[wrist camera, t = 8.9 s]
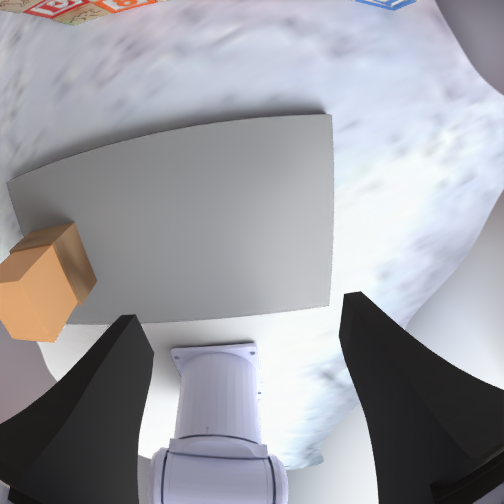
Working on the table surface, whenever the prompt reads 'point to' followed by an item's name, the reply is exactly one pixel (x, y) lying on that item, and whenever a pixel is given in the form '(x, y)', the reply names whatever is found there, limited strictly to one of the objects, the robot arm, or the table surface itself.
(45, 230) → the walnut base brick
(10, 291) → the orange brick
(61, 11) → the stack of blocks
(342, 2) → the table surface
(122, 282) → the slate baseplate
